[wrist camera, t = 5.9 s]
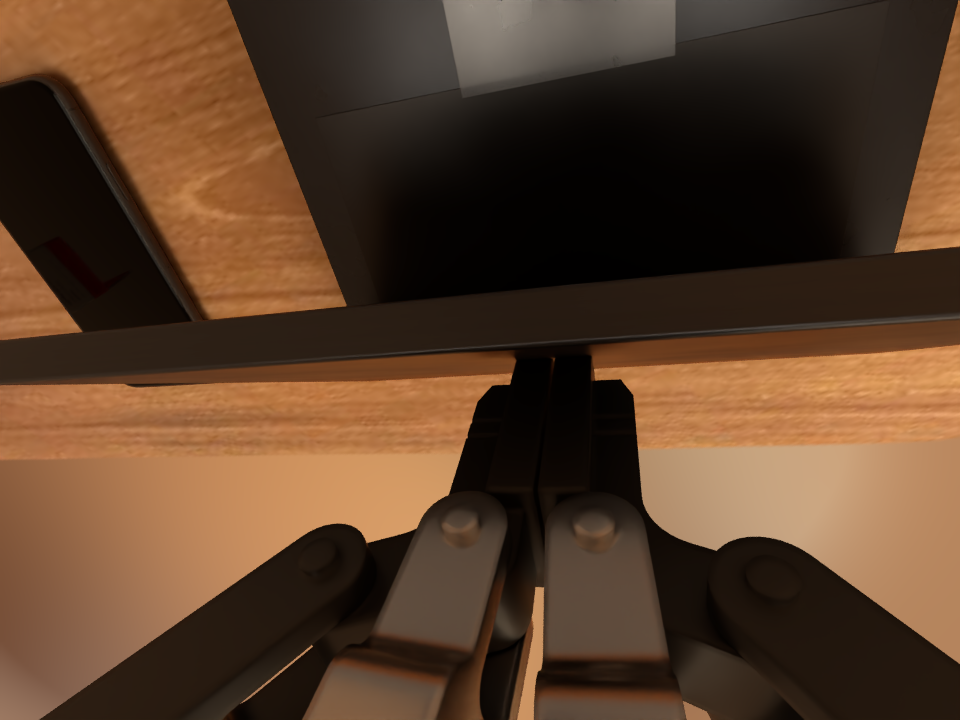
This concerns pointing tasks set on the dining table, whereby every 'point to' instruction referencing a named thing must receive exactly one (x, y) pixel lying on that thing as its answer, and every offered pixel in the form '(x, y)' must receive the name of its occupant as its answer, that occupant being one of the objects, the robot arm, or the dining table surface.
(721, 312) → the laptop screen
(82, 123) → the smartphone
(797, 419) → the dining table surface
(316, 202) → the laptop
